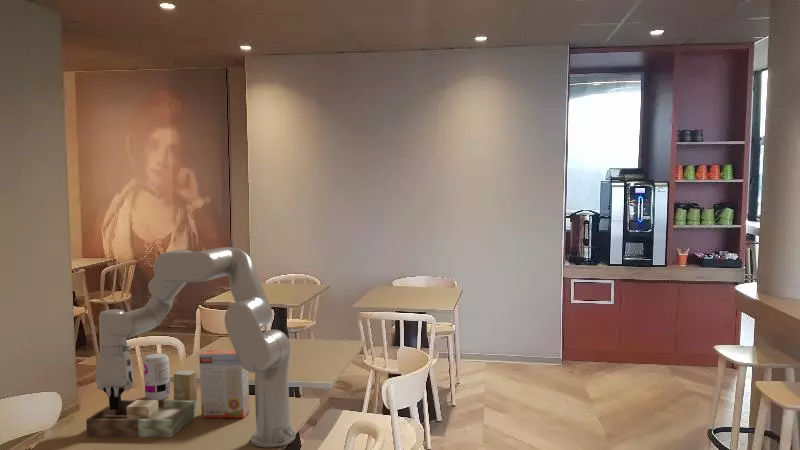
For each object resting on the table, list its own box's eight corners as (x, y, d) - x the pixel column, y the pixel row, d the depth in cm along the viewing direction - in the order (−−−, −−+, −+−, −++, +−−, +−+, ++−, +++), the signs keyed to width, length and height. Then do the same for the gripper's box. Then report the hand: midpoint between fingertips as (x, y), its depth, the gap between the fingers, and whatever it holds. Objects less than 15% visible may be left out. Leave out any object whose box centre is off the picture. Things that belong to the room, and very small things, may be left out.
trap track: (195, 415, 193) (194, 400, 192) (171, 437, 176) (170, 420, 176) (118, 415, 195) (117, 400, 195) (87, 436, 178) (86, 419, 178)
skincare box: (173, 409, 199) (172, 373, 198) (181, 405, 203) (179, 369, 202) (190, 411, 197) (189, 374, 197) (198, 406, 201) (196, 370, 201)
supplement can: (143, 402, 206) (142, 359, 206) (147, 395, 214) (145, 353, 214) (168, 400, 209) (167, 357, 208) (171, 392, 217) (169, 351, 216)
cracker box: (250, 412, 195) (248, 349, 194) (243, 419, 189) (241, 353, 188) (208, 411, 197) (206, 348, 195) (201, 418, 191) (198, 353, 189)
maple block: (158, 412, 188) (158, 400, 188) (149, 419, 182) (148, 406, 182) (137, 412, 188) (136, 400, 188) (127, 419, 182) (126, 406, 182)
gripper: (142, 347, 188) (144, 404, 189) (97, 346, 189) (99, 403, 190) (130, 353, 180) (132, 413, 181) (83, 352, 182) (85, 412, 183)
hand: (115, 407), depth 186 cm, fingers closed
